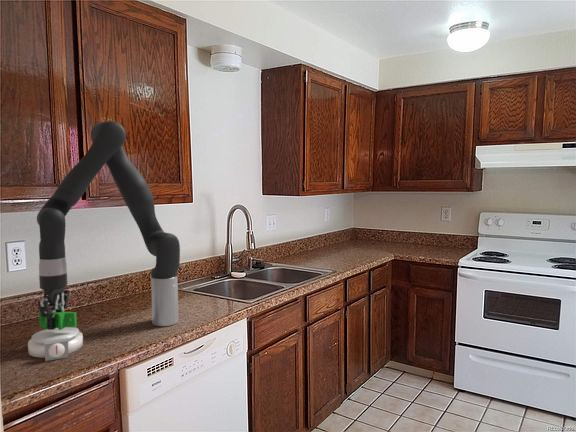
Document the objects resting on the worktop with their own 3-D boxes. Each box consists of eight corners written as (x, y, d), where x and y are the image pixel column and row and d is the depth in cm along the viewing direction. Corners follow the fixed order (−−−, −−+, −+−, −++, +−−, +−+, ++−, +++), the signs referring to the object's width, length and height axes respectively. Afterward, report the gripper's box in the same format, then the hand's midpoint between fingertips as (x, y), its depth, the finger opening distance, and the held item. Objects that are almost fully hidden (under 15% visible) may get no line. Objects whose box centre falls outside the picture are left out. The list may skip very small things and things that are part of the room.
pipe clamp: (34, 330, 131) (33, 315, 131) (41, 326, 135) (40, 311, 135) (70, 330, 131) (70, 315, 131) (76, 326, 135) (76, 311, 135)
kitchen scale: (29, 344, 137) (28, 328, 136) (81, 335, 144) (80, 321, 143) (27, 365, 121) (26, 348, 121) (85, 354, 128) (84, 338, 128)
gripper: (52, 277, 125) (54, 335, 126) (76, 267, 139) (78, 319, 140) (26, 277, 125) (29, 335, 126) (53, 267, 139) (56, 319, 140)
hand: (55, 326), depth 133 cm, fingers closed on pipe clamp, 3 cm apart
